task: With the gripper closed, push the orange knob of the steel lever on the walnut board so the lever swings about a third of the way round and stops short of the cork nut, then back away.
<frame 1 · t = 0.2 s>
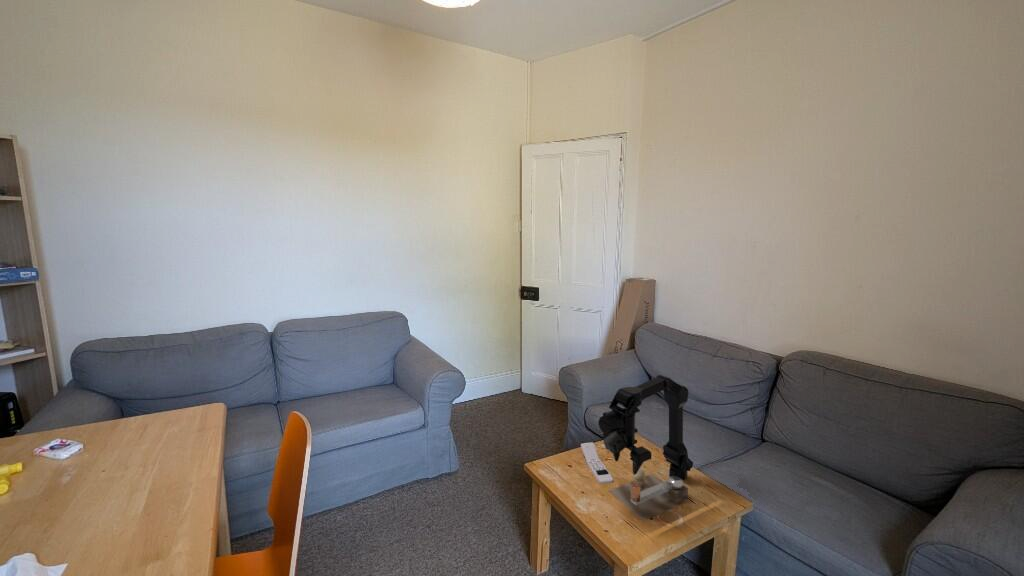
hand: (625, 467, 145), 15 cm above the table, tool pointing down, fingers open, 9 cm apart
lever: (657, 485, 144), point 9 cm above the table, hinge at 0.0°
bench: (648, 499, 150), on the table
nut: (638, 484, 156), point 1 cm above the table, touching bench
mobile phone: (596, 471, 168), on the table
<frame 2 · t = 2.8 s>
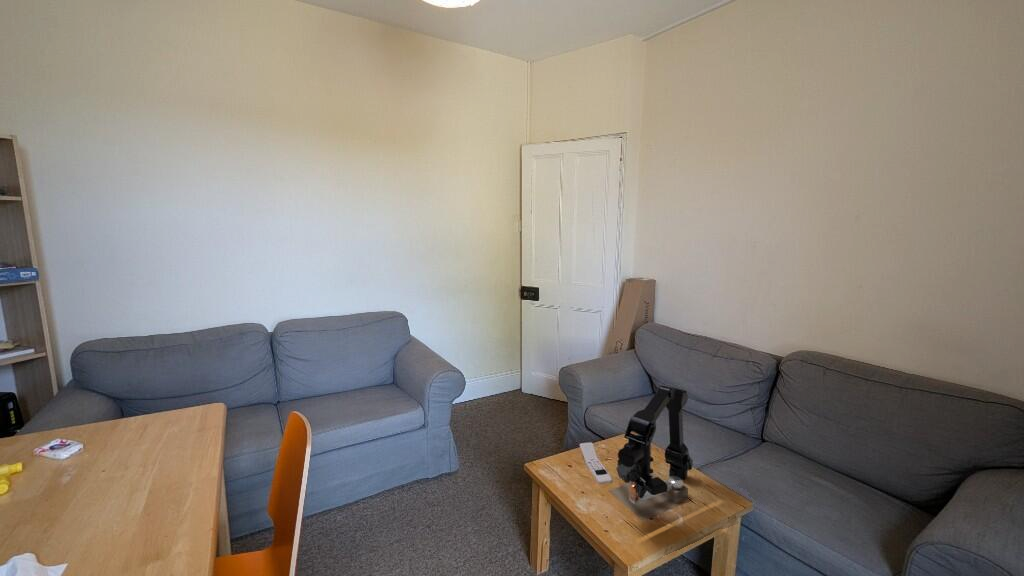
hand: (640, 497, 137), 9 cm above the table, tool pointing down, fingers closed
lever: (656, 484, 144), point 9 cm above the table, hinge at -2.1°, touching gripper
everything else where it was.
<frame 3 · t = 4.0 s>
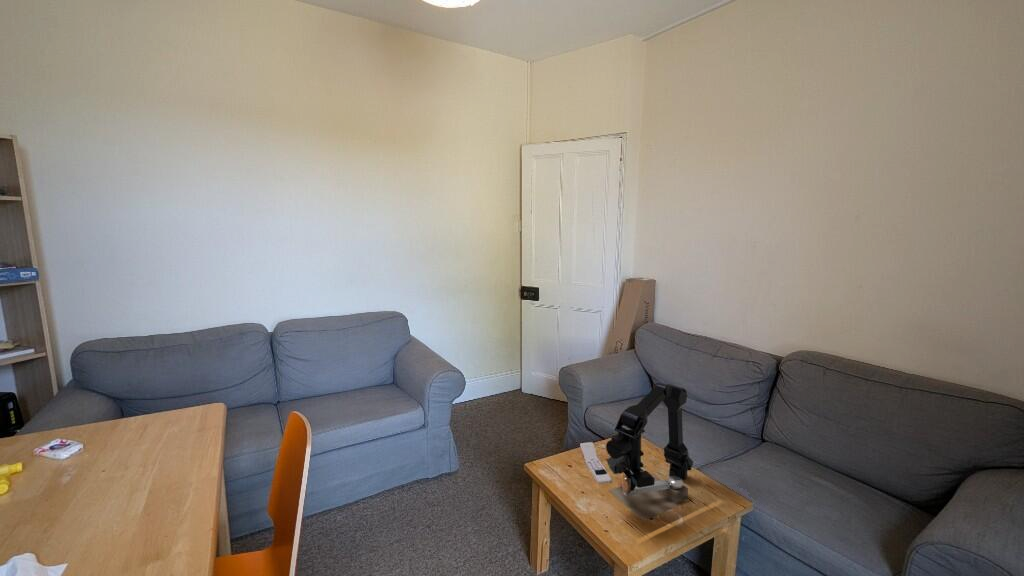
hand: (631, 490, 141), 9 cm above the table, tool pointing down, fingers closed
lever: (652, 481, 146), point 9 cm above the table, hinge at -15.1°, touching gripper
everything else where it was.
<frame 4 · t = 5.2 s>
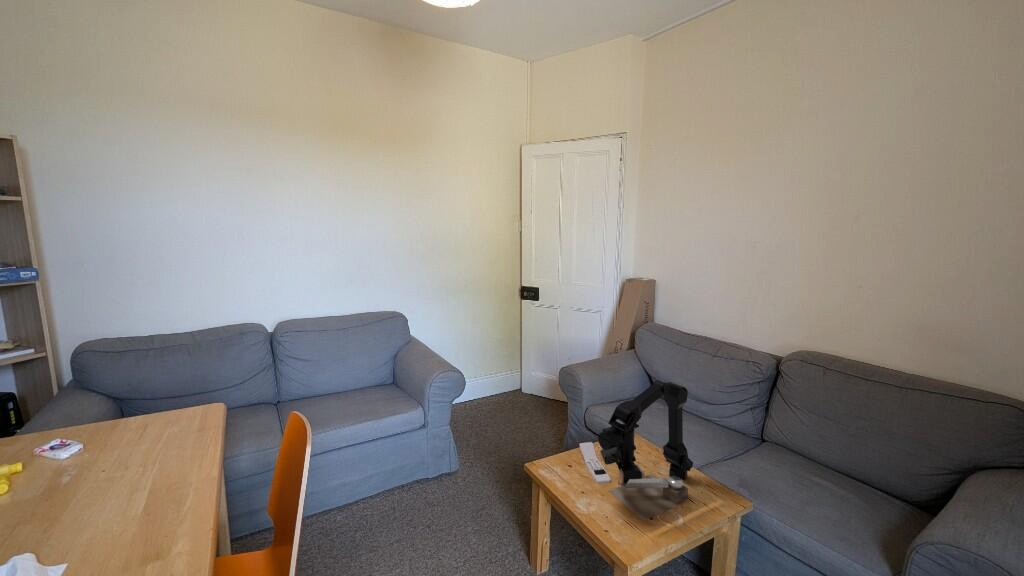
hand: (625, 483, 145), 9 cm above the table, tool pointing down, fingers closed
lever: (650, 477, 148), point 9 cm above the table, hinge at -27.6°, touching gripper
everything else where it was.
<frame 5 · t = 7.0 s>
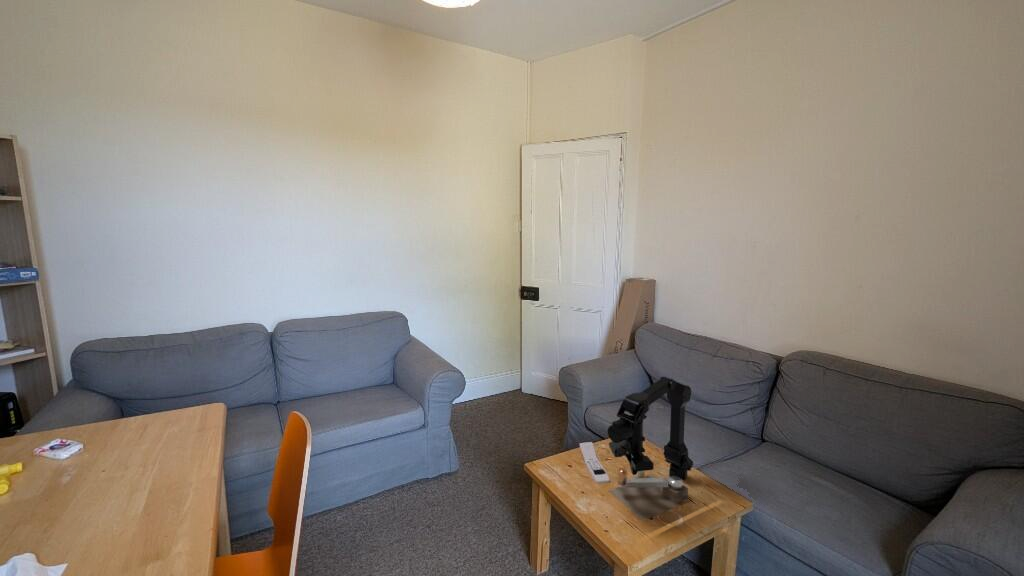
hand: (633, 474, 145), 12 cm above the table, tool pointing down, fingers closed
lever: (650, 477, 148), point 9 cm above the table, hinge at -28.6°
everything else where it was.
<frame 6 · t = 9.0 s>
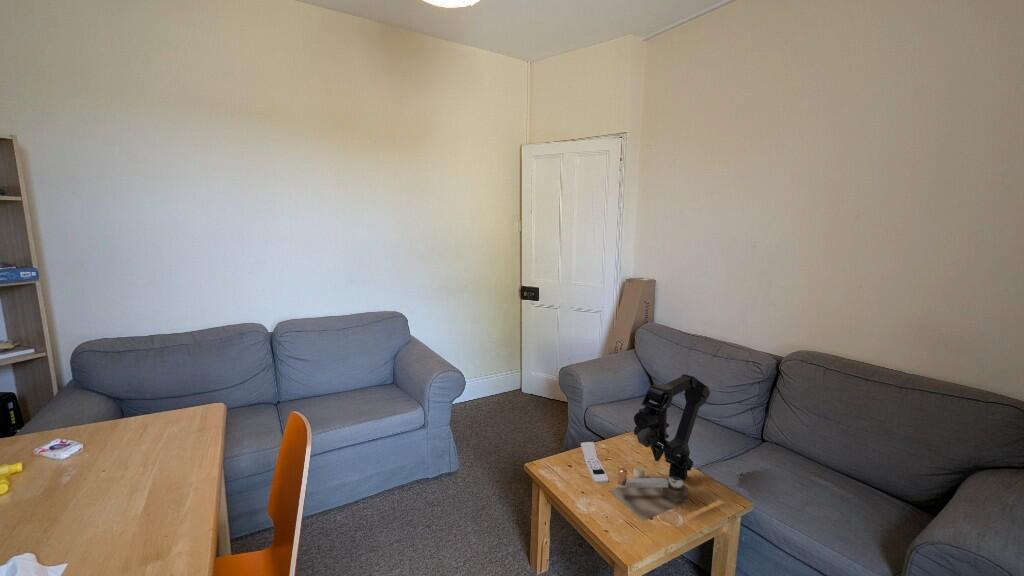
hand: (657, 460, 152), 13 cm above the table, tool pointing down, fingers closed
nothing on the table moved.
at the end: lever at -29° (first picture: +0°); nut moved 0.0 cm from its start; lever touching nothing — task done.
